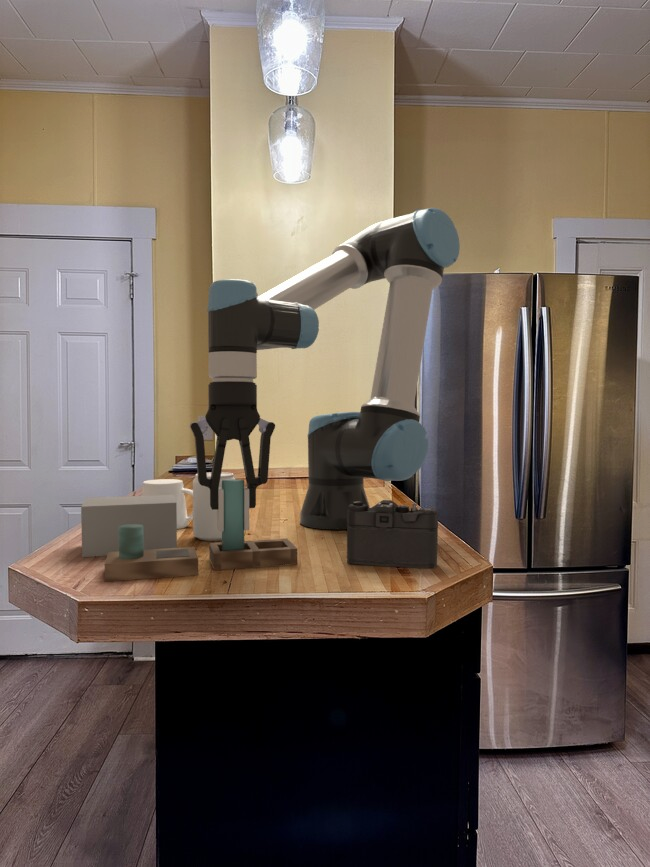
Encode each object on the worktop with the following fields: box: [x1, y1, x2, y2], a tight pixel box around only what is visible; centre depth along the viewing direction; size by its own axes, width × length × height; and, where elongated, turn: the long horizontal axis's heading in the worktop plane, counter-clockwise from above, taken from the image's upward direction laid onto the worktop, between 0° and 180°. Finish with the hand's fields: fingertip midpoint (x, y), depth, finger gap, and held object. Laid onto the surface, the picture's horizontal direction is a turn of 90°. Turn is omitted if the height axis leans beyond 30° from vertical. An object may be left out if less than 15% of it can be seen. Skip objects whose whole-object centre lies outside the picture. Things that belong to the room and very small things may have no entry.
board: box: [104, 524, 199, 582], centre depth 94 cm, size 13×8×7 cm, turn 106°
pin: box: [221, 478, 245, 551], centre depth 99 cm, size 4×4×12 cm
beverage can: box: [192, 471, 236, 542], centre depth 118 cm, size 8×8×12 cm
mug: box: [141, 478, 193, 530], centre depth 128 cm, size 12×9×8 cm
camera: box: [346, 499, 439, 570], centre depth 101 cm, size 14×11×10 cm
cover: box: [80, 495, 178, 558], centre depth 109 cm, size 15×10×8 cm, turn 106°
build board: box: [208, 538, 299, 571], centre depth 100 cm, size 13×8×2 cm, turn 106°
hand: (233, 528), depth 99 cm, fingers closed on pin, 3 cm apart
